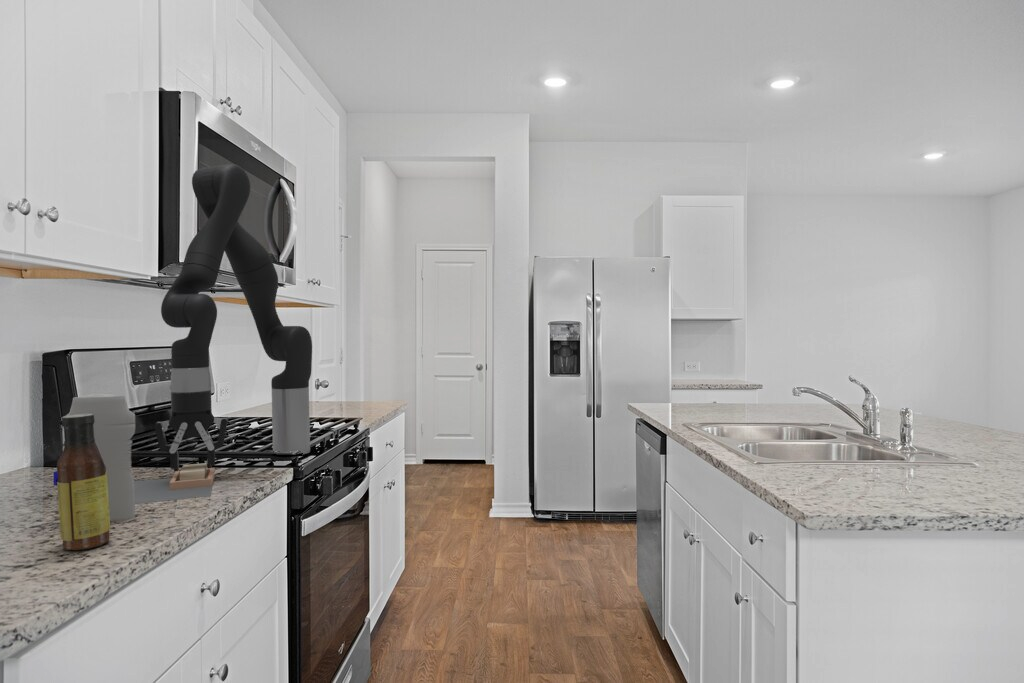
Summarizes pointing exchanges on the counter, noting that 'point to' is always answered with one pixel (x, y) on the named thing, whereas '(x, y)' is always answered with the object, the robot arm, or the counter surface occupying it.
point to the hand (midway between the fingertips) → (193, 468)
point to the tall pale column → (112, 447)
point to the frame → (192, 481)
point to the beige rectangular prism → (193, 472)
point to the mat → (166, 491)
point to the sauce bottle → (82, 486)
